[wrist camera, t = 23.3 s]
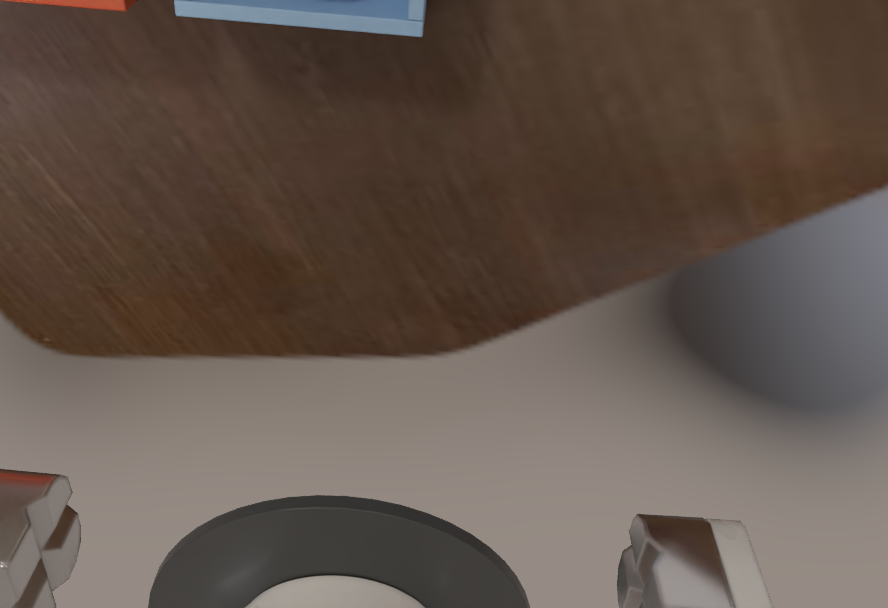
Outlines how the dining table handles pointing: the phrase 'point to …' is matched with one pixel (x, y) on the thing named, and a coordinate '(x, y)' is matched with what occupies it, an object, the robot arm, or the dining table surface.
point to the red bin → (85, 3)
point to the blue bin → (316, 13)
